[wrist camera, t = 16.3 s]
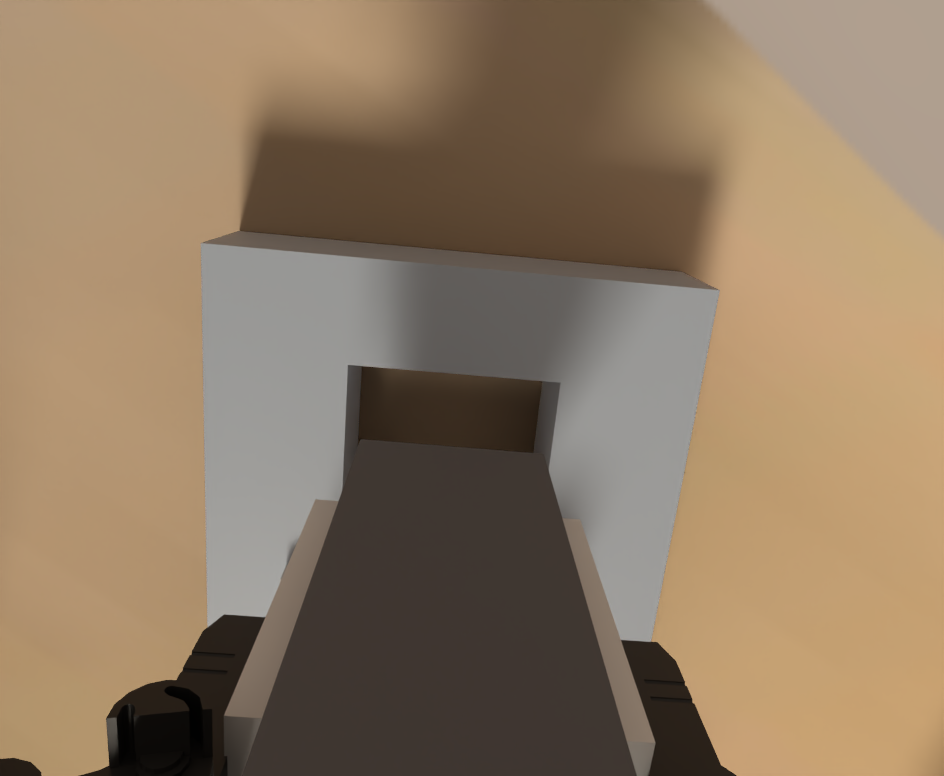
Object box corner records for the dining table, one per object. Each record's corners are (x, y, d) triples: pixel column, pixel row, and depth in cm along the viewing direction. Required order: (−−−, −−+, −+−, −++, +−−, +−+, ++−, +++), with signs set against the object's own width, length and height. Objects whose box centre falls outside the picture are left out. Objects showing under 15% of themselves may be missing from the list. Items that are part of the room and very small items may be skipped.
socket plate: (240, 706, 28) (202, 801, 24) (239, 231, 23) (190, 246, 18) (600, 729, 28) (624, 824, 24) (681, 271, 23) (730, 295, 19)
